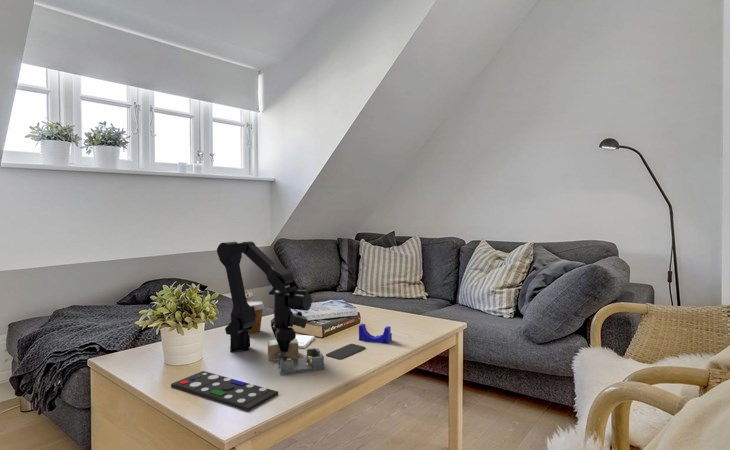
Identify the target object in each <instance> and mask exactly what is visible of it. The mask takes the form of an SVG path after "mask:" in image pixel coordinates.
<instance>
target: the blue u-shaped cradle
mask: <svg viewBox="0 0 730 450" xmlns="http://www.w3.org/2000/svg"><path fill="white" fill-rule="evenodd" d="M391 331H392V329H391V326H386V327H384V330H383V333H382V334H380V335H376V336H375V335H372V334H371V333H370V332H368V330H367V328H366V323H360V324H359V325H358V341H360V342H361V341H362V342H368V343H378V344H384V345H386V344H387V345H389V344H390V343H391V342H392V341H393V339H392V336H393V333H392V332H391Z"/></svg>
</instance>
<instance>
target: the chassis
mask: <svg viewBox="0 0 730 450" xmlns="http://www.w3.org/2000/svg"><path fill="white" fill-rule="evenodd" d="M276 366H277V369H278V371H279V375H280V376H285V375H293V374H301V373H308V372H317V371H318V372H319V371H325V370H326V366H325V356H324V355H323V353H321V350H320V349H319V348H316V347H313V348H312V347H311V348H307V349H306V357H300V358H299V357H298V358H289V351H283V352H280V353H278V360H276Z"/></svg>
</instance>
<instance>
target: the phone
mask: <svg viewBox="0 0 730 450" xmlns="http://www.w3.org/2000/svg"><path fill="white" fill-rule="evenodd" d="M364 350H366V347H365V346H362V345H360V344H355V343H349V344H346V345H344V346H342V347H339V348H337V349H334V350H332V351H330V352H327V353H326V354H325V356H326V357H327V358H332V359H335V360H344V359H347V358H348V357H351V356H354V355H355V354H357V353H361V352H363V351H364Z"/></svg>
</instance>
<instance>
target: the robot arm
mask: <svg viewBox="0 0 730 450" xmlns="http://www.w3.org/2000/svg"><path fill="white" fill-rule="evenodd" d="M216 254H217V256H218V260H219V261H220V263H221V264H222V265H223V266H224V268H225V272H226V277H227V280H228V286H229V287H228V288H229V290H230V291H229V292H230V296H231V297H230V298H231V302H232V309H231V312H230V323H229V324H227V326H226V327H225V329H224V331H225V335H230V338H229V339H230V340H229V341H230V345H229V350H230V351H229V352H231V353H233V352H243V351H249V350H250V347H251V334H248V331H249V330H252V327H253V325H254V323H255V321H256V319H255V317H257V316H256V314H255V308H254V306H252V307H250V306H249V304H248V303H247V302H248V301H247V295H246V291H245V285H244V281H243V276H242V269H241V266H240V263H241V260H242V257H243V255H242V254H244V255H245V256H246V257H248V259H249V260H250V261H251V262H252V263H253V264H255V265H256V266H257V267H258V269H260V271H262V272H263V273H264V275H265V277H266V280H267V282H268V283H269V284H270V286H271V287H272V289H271V290H270V291H269V292H268V295H272V296H273V311H272V312H273V313H272V314H273V318H272V319H271V320H270V327H271V331H272V334H273V336H274V338H275V340H277V343H278V345H279V348H280V350H281V352H283V351H288V348H289V344H290V342H291V341H292V340H294V339H295V338H296V335H297V334H296V333H297V332H296V330H295V329H294V328H293V327H294V326H297V327H300V328H302V329H305V328H306V325H307V323H308V320H309V319H308V318H307V317H306V316H305V315H303V312H302V311H304V312H306V311H309V310H310V309H311V307H312V303H313V299H312V296H311V294H310V293H309V289H300V287H299V285H298V283H297V282H296V280H295V279H294V275H293V273H292V272H291V271H289V270H288V269H286V268H285V267H283V266H279V265H277V264H276V263H275V262H274V261H273V260H272V259H271V258H270V257H268V255H266V254H265V253H264V252H263V251H262V250H261V249H260V248H259V247H258V246H257V245H256V244H255V242H254V241H249V240H247V241H242V242H237V241H226V242H221V243H219V245H218V246H217V248H216ZM293 310H297V311H296V312H295V313H294V312H293Z"/></svg>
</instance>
